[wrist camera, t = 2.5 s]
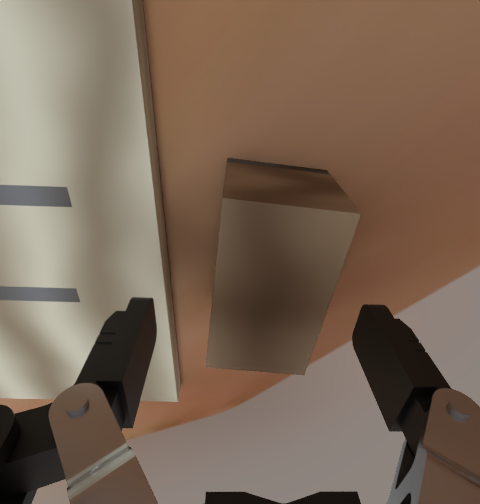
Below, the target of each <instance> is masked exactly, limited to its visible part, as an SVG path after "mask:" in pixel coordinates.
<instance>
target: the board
mask: <svg viewBox="0 0 480 504" xmlns="http://www.w3.org/2000/svg"><path fill="white" fill-rule="evenodd" d="M132 297H145V298H153V300H154V307H155V316H156V325H157V337H156V343H155V347H154V351H153V354H152V358H151V362H150V366H149V369H148V373H147V377H146V380H145V384H144V388H143V391H142V395H141V399H140V401H168V402H178V397H179V391H180V386H181V380H180V370H179V360H178V350H177V340H176V330H175V320H174V310H173V300H172V290H171V280H170V270H169V260H168V250H167V240H166V230H165V220H164V210H163V200H162V190H161V181H160V171H159V161H158V151H157V141H156V131H155V121H154V111H153V101H152V91H151V81H150V71H149V61H148V51H147V41H146V31H145V21H144V11H143V1H142V0H0V398H20V399H56V397H57V396H58V395H59V394H61V393H62V392H63V391H64V390H66V389H68V388H69V387H71V386H73V385H74V384H75V382H76V380H77V378H78V376H79V374H80V372H81V370H82V368H83V366H84V364H85V362H86V360H87V358H88V355H89V353H90V351H91V349H92V347H93V345H95V341H96V339H97V337H98V335H100V331H101V329H102V327H103V325H104V323H105V321H106V320H107V319H108V318H109V317H110V316H111V315H112V314H113V313H114V312H115V311H126V309H127V306H128V304H129V302H130V299H131V298H132Z"/></svg>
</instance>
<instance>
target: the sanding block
mask: <svg viewBox="0 0 480 504" xmlns="http://www.w3.org/2000/svg"><path fill="white" fill-rule="evenodd" d="M360 217H361V213H360V212H359V210H358V209H357V208H356V207H355V205H354V204H353V203H352V201H351V200H350V199H349V198H348V196H347V195H346V194H345V193H344V191H343V190H342V189H341V188H340V186H339V185H338V184H337V183H336V181H335V180H334V179H333V178H332V176H331V175H330V174H329V173H328V171H327V170H321V169H312V168H304V167H296V166H288V165H280V164H272V163H264V162H256V161H248V160H239V159H231V158H228V159H227V167H226V175H225V183H224V190H223V198H222V208H221V218H220V228H219V238H218V249H217V259H216V269H215V279H214V289H213V299H212V309H211V319H210V329H209V339H208V349H207V359H206V367H210V368H222V369H235V370H247V371H260V372H272V373H284V374H297V375H304V374H305V371H306V368H307V365H308V363H309V360H310V357H311V354H312V351H313V349H314V346H315V343H316V340H317V337H318V335H319V332H320V329H321V326H322V323H323V321H324V318H325V315H326V312H327V309H328V307H329V304H330V301H331V298H332V295H333V293H334V290H335V287H336V284H337V281H338V279H339V276H340V273H341V270H342V267H343V264H344V262H345V259H346V256H347V253H348V250H349V248H350V245H351V242H352V239H353V236H354V234H355V231H356V228H357V225H358V222H359V220H360Z"/></svg>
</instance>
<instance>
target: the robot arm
mask: <svg viewBox="0 0 480 504" xmlns="http://www.w3.org/2000/svg"><path fill="white" fill-rule="evenodd" d="M156 337H157V325H156V316H155V307H154V300H153V298H145V297H132V298H131V299H130V302H129V304H128V306H127V309H126V311H115V312H114V313H113V314H112V315H111V316H110V317H109V318H108V319H107V320H106V321H105V323H104V325H103V327H102V329H101V331H100V335H98V337H97V339H96V341H95V345H93V347H92V349H91V351H90V353H89V355H88V358H87V360H86V362H85V364H84V366H83V368H82V370H81V372H80V374H79V376H78V378H77V380H76V382H75V384H74V385H73V386H71V387H69V388H68V389H66V390H64V391H63V392H62V393H61V394H59V395H58V396H57V397H56V399H55V400H54V401H53V402H52V403H50V404H48V405H45V406H42V407H38V408H35V409H31V410H27V411H23V412H20V413H16V414H14V413H13V411H12V410H11V409H10V408H9V407H7V406H4V405H0V504H31V503H32V501H33V498H34V496H35V493H36V491H37V489H38V488H40V487H43V486H46V485H49V484H52V483H55V482H58V481H61V480H64V479H66V481H67V485H68V488H67V492H68V497H69V501H70V504H158V502H157V500H156V498H155V496H154V493H153V491H152V489H151V487H150V485H149V483H148V481H147V479H146V476H145V474H144V472H143V470H142V468H141V466H140V464H139V462H138V460H137V458H136V455H135V453H134V452H133V450H132V449H131V447H129V446H128V444H127V442H126V440H125V438H124V436H123V434H122V428H133V425H134V421H135V417H136V414H137V410H138V406H139V403H140V399H141V395H142V391H143V388H144V384H145V380H146V377H147V373H148V369H149V366H150V362H151V358H152V354H153V351H154V347H155V343H156ZM352 341H353V347H354V350H355V352H356V355H357V357H358V359H359V362H360V364H361V366H362V369H363V371H364V373H365V376H366V378H367V380H368V383H369V385H370V387H371V390H372V392H373V394H374V397H375V399H376V401H377V404H378V406H379V408H380V411H381V413H382V415H383V418H384V420H385V422H386V425H387V427H388V429H389V431H403V433H404V436H405V438H406V439H405V441H404V443H403V446H402V450H401V454H400V457H399V462H398V465H397V469H396V473H395V477H394V481H393V485H392V488H391V492H390V495H389V498H388V501H387V503H386V504H480V407H479V406H478V405H477V404H476V403H475V402H474V401H473V400H472V399H471V398H469V397H468V396H466V395H465V394H463V393H461V392H459V391H456V390H453V389H451V388H450V386H449V385H448V383H447V382H446V380H445V379H444V377H443V376H442V374H441V373H440V371H439V370H438V368H437V367H436V365H435V364H434V362H433V361H432V359H431V358H430V356H429V355H428V353H426V352H425V349H424V347H423V346H422V344H421V343H419V340H418V339H417V337H416V336H415V334H414V333H413V331H412V330H411V328H409V327H408V326H407V325H406V324H405V323H403V322H402V321H401V320H400V319H394V317H393V316H392V314H391V312H390V311H389V309H388V308H387V307H386V306H385V305H369V304H365V305H363V306H362V308H361V311H360V314H359V316H358V319H357V322H356V325H355V328H354V331H353V336H352ZM205 504H281V503H278V502H275V501H271V500H268V499H265V498H262V497H259V496H255V495H252V494H249V493H246V492H206V500H205ZM286 504H361V503H360V499H359V496H358V493H357V492H319V493H316V494H313V495H310V496H307V497H304V498H301V499H298V500H296V501H292V502H290V503H286Z"/></svg>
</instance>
